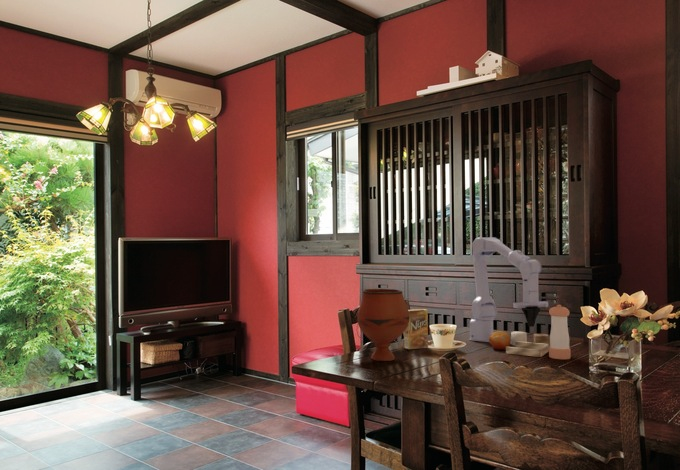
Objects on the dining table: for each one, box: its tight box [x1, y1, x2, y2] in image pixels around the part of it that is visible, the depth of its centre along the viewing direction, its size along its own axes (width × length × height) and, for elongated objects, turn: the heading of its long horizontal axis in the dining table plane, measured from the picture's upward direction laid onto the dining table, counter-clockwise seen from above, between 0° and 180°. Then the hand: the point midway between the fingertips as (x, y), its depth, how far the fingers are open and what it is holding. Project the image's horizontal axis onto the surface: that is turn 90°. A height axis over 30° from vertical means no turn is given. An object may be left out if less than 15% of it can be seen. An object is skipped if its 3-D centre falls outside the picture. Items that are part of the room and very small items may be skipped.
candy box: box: [403, 308, 429, 350], centre depth 217 cm, size 9×4×15 cm, turn 113°
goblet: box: [356, 288, 409, 362], centre depth 198 cm, size 19×19×25 cm
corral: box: [505, 341, 550, 358], centre depth 208 cm, size 13×14×2 cm
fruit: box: [489, 330, 511, 351], centre depth 215 cm, size 8×8×8 cm
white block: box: [510, 330, 528, 347], centre depth 223 cm, size 6×6×5 cm
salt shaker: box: [548, 304, 572, 360], centre depth 199 cm, size 7×7×19 cm
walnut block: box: [533, 333, 550, 345], centre depth 217 cm, size 5×5×5 cm
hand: (531, 326), depth 211 cm, fingers closed
